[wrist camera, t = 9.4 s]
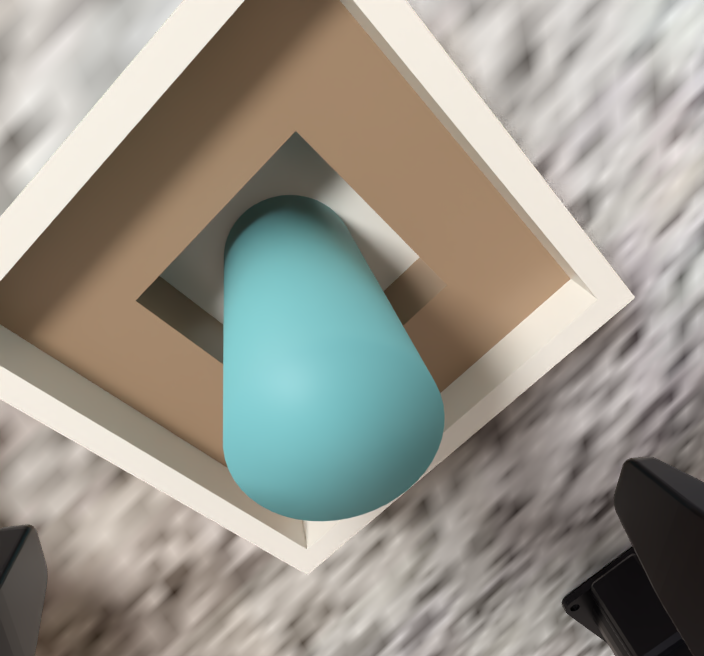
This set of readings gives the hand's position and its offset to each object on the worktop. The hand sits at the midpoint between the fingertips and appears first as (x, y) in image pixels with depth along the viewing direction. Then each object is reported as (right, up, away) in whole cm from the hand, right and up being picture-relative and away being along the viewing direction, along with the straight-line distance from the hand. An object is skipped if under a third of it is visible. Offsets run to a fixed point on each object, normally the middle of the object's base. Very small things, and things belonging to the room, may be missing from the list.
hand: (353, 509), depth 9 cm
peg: (-2, +5, +9) cm, 11 cm away
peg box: (-2, +5, +10) cm, 12 cm away
